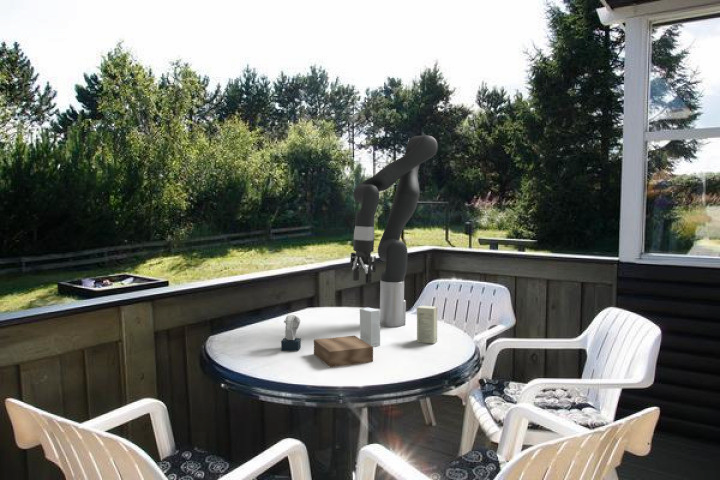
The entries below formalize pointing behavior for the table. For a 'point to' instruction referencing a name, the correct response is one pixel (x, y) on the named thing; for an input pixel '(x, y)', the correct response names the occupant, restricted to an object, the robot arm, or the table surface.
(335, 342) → the walnut block
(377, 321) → the skincare box
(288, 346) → the white bust on pedestal
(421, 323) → the skincare box
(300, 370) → the table surface
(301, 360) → the table surface
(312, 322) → the table surface
